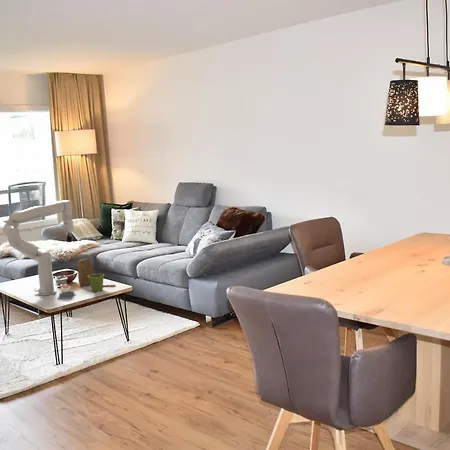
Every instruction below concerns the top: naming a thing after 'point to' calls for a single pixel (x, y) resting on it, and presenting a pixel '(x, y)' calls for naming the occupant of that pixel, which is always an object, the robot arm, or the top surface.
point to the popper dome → (65, 289)
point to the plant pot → (96, 282)
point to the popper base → (66, 295)
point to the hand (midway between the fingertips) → (69, 241)
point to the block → (84, 271)
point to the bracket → (108, 285)
